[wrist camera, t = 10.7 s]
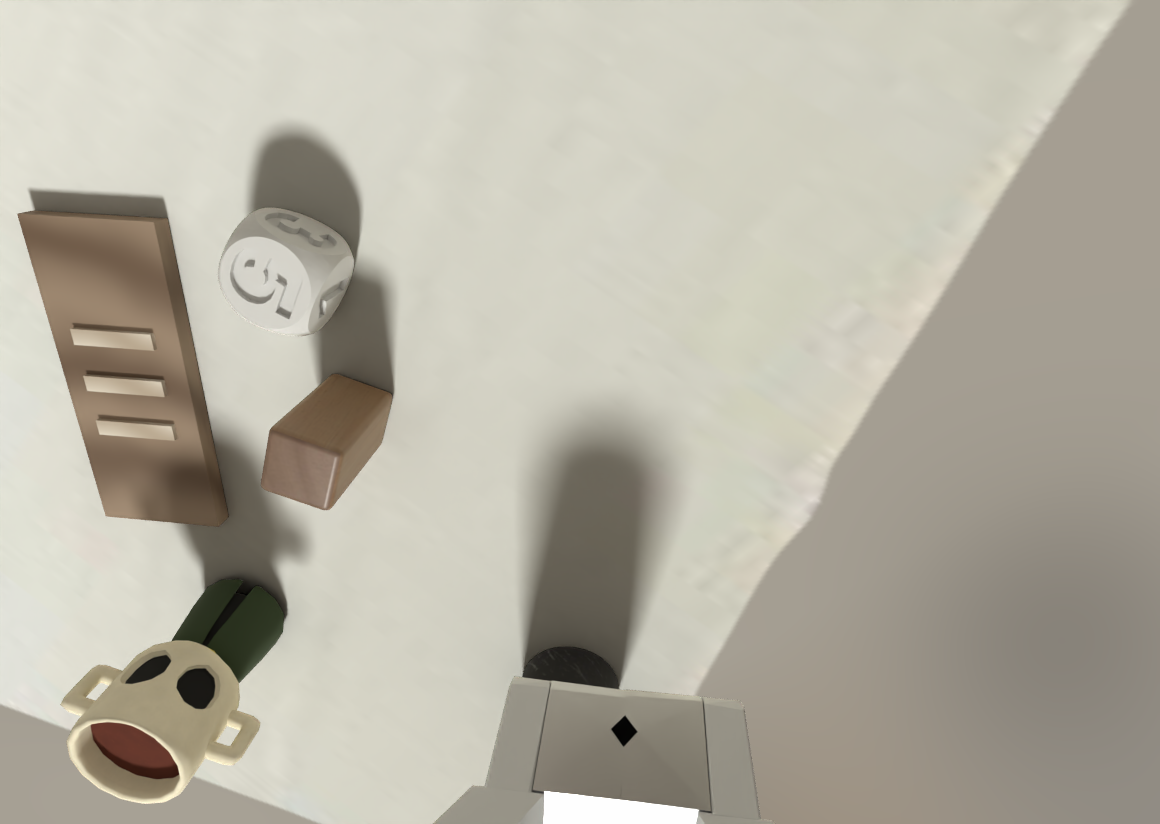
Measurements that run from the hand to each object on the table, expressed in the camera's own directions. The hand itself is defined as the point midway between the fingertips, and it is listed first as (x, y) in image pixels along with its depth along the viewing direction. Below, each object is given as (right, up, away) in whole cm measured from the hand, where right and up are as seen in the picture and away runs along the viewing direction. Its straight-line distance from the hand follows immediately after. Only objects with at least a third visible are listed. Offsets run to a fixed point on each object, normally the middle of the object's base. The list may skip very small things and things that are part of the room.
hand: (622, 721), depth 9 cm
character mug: (-25, -10, +42) cm, 50 cm away
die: (-16, +13, +31) cm, 37 cm away
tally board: (-28, +6, +34) cm, 45 cm away
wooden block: (-14, +4, +34) cm, 37 cm away
